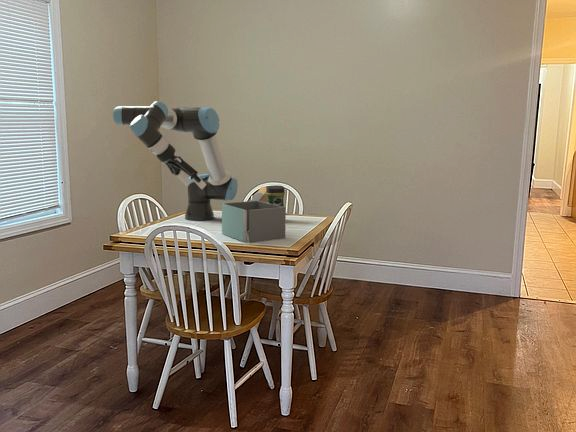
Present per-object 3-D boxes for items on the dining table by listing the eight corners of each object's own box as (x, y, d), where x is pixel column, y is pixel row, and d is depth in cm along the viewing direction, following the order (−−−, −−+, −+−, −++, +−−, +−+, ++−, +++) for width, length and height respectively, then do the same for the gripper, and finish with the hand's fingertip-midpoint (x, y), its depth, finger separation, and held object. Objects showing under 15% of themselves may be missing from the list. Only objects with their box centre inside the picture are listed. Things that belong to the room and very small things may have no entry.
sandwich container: (238, 214, 309) (238, 187, 307) (261, 212, 317) (261, 186, 315) (245, 216, 302) (245, 189, 299) (269, 214, 310) (269, 187, 308)
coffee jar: (281, 219, 294) (281, 184, 291) (286, 221, 287) (286, 186, 284) (264, 219, 291) (264, 184, 288) (268, 222, 284) (269, 186, 281)
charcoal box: (249, 242, 235) (250, 210, 232) (224, 233, 254) (223, 203, 252) (285, 238, 245) (285, 207, 242) (257, 229, 264) (257, 200, 262)
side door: (244, 242, 235) (244, 210, 232) (222, 233, 252) (221, 204, 250) (247, 241, 235) (247, 210, 233) (224, 233, 253) (224, 204, 250)
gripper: (144, 154, 228) (177, 189, 239) (169, 157, 208) (204, 194, 219) (156, 141, 231) (188, 176, 242) (181, 143, 211) (216, 181, 222)
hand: (196, 185), depth 231 cm, fingers open, 13 cm apart
